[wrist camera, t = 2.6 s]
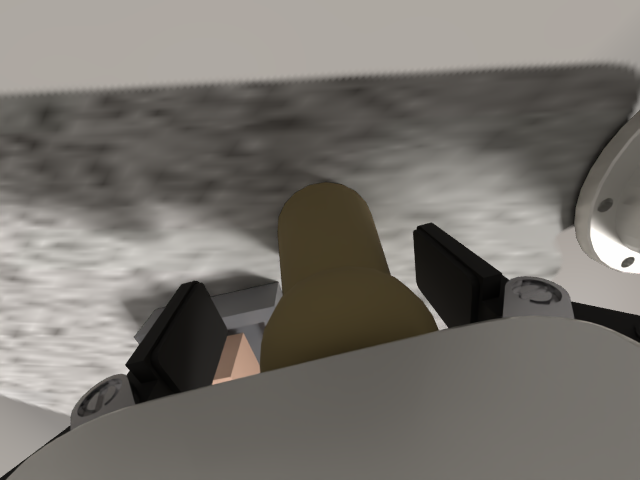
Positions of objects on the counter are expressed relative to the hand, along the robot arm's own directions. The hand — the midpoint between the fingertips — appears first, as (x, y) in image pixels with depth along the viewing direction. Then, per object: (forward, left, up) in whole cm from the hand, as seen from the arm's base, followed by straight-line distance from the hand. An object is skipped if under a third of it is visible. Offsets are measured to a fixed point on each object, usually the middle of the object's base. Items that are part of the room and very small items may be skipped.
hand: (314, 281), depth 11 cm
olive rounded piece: (-1, 0, -6) cm, 6 cm away
